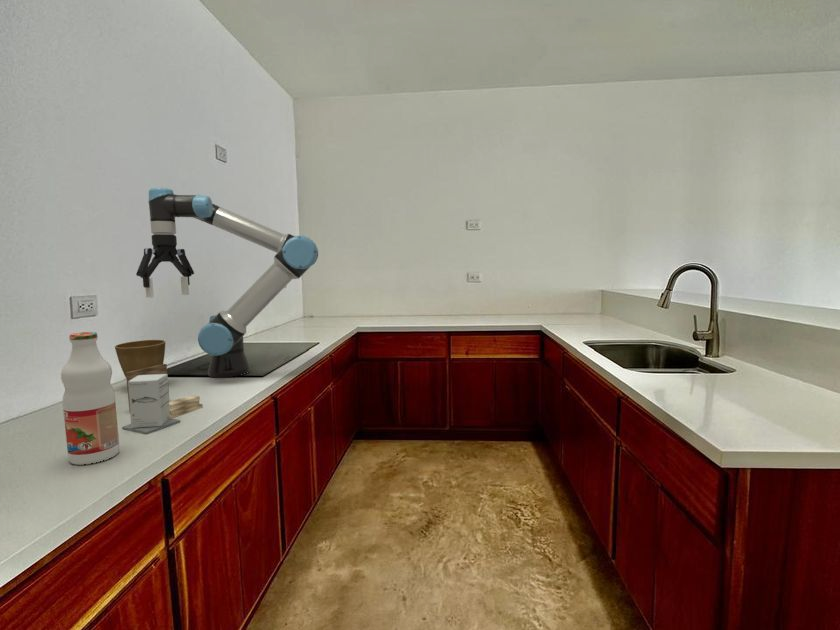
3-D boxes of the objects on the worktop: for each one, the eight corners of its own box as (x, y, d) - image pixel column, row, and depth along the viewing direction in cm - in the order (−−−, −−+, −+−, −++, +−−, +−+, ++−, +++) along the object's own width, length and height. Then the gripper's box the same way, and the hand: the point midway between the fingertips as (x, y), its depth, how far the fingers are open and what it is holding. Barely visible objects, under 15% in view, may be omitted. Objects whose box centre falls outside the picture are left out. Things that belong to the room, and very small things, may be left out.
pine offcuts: (192, 406, 139) (191, 394, 139) (203, 408, 138) (202, 395, 137) (159, 418, 129) (158, 404, 129) (170, 420, 127) (169, 406, 127)
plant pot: (145, 382, 168) (141, 338, 166) (178, 384, 164) (175, 340, 162) (107, 393, 154) (103, 346, 152) (143, 396, 150) (139, 348, 148)
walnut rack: (167, 401, 144) (164, 363, 143) (169, 401, 144) (166, 364, 142) (129, 412, 133) (126, 372, 132) (131, 413, 133) (128, 372, 131)
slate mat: (156, 417, 129) (156, 415, 129) (180, 422, 125) (180, 420, 125) (122, 428, 120) (122, 426, 120) (146, 434, 116) (146, 432, 116)
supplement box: (130, 429, 118) (126, 381, 117) (142, 419, 125) (138, 374, 124) (161, 427, 120) (157, 379, 118) (171, 417, 127) (168, 372, 125)
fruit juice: (125, 455, 103) (115, 332, 100) (74, 470, 96) (61, 338, 93) (112, 445, 109) (102, 329, 106) (63, 457, 102) (51, 334, 99)
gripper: (187, 236, 171) (191, 293, 173) (120, 233, 148) (126, 298, 151) (202, 235, 168) (205, 293, 170) (135, 232, 145) (141, 298, 148)
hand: (168, 296), depth 160 cm, fingers open, 13 cm apart
